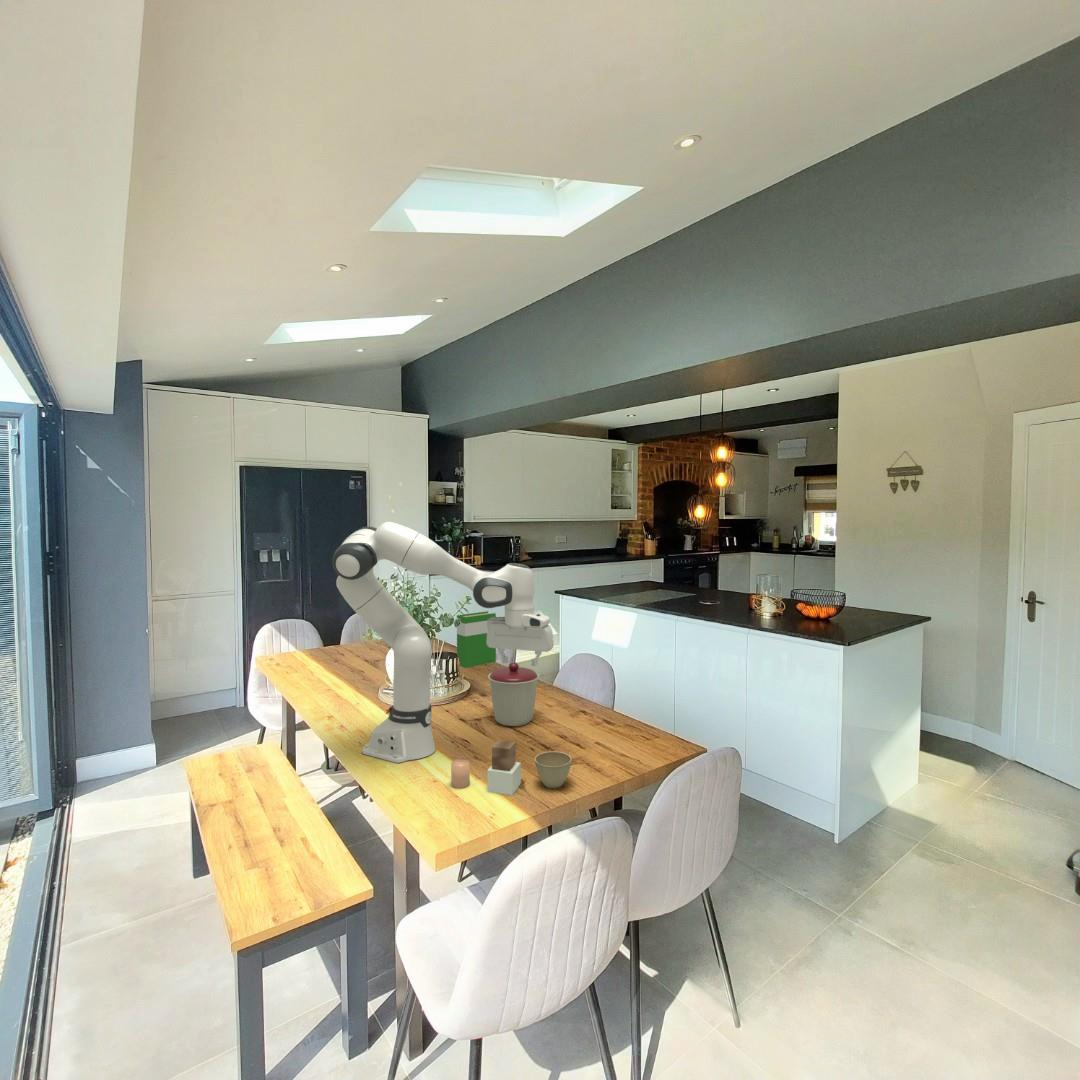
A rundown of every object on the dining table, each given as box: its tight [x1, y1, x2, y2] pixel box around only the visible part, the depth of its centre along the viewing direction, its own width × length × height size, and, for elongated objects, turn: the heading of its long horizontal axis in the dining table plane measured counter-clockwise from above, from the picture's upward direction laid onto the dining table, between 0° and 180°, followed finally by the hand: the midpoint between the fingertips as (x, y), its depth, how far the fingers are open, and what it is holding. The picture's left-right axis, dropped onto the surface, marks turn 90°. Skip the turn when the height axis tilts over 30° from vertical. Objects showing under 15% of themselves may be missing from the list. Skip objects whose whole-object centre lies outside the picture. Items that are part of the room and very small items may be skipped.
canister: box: [487, 662, 540, 727], centre depth 212 cm, size 18×18×21 cm
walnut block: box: [491, 739, 517, 771], centre depth 161 cm, size 5×5×6 cm
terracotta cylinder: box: [450, 758, 471, 790], centre depth 164 cm, size 5×5×6 cm
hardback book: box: [456, 610, 497, 669], centre depth 291 cm, size 18×7×24 cm, turn 130°
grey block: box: [486, 761, 522, 796], centre depth 162 cm, size 7×7×6 cm
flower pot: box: [534, 750, 572, 789], centre depth 164 cm, size 10×10×7 cm
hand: (519, 664), depth 178 cm, fingers open, 8 cm apart
